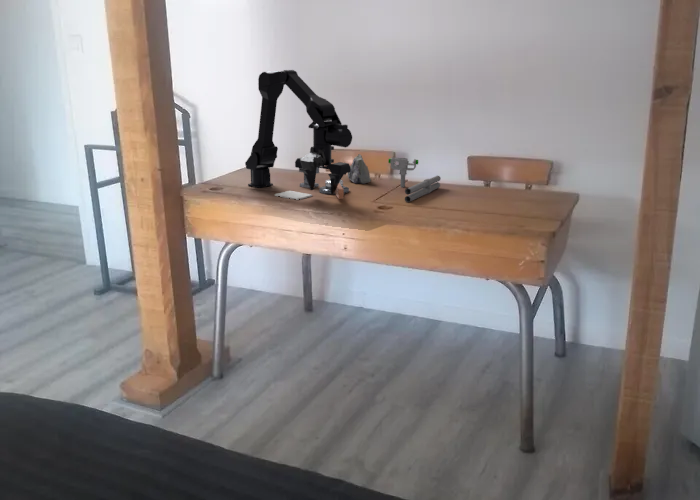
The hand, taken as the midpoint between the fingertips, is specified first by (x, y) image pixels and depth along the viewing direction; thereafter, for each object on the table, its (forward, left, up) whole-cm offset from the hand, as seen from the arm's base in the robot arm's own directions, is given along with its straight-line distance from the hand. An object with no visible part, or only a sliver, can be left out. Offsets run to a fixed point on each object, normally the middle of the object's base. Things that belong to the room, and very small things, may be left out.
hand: (322, 191), depth 226 cm
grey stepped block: (-17, +13, -3) cm, 21 cm away
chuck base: (-5, +12, -3) cm, 13 cm away
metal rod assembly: (+22, +27, -3) cm, 35 cm away
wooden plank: (0, +7, -1) cm, 7 cm away
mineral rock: (-9, +32, -3) cm, 34 cm away
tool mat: (-11, -2, -3) cm, 11 cm away
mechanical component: (+9, +33, -3) cm, 34 cm away
